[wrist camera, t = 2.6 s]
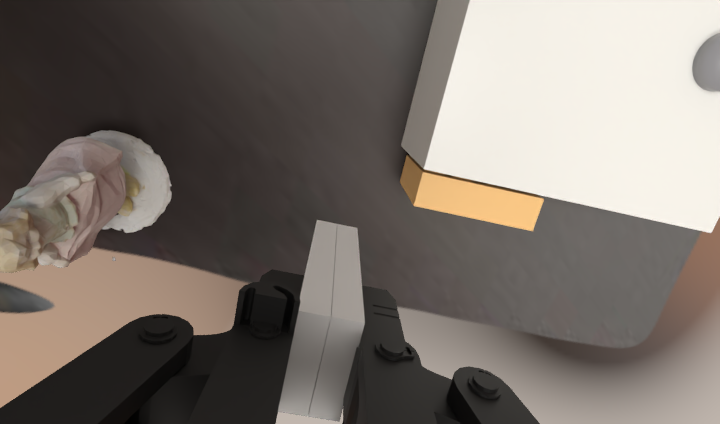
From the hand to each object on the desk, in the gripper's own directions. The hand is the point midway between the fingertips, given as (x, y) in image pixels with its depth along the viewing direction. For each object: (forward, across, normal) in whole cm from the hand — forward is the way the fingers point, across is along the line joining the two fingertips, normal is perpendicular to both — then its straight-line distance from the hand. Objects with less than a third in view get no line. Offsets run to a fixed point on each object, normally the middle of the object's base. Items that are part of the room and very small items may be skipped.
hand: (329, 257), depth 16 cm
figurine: (+19, -17, -6) cm, 26 cm away
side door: (+18, +9, +1) cm, 20 cm away
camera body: (+18, +15, +9) cm, 25 cm away
